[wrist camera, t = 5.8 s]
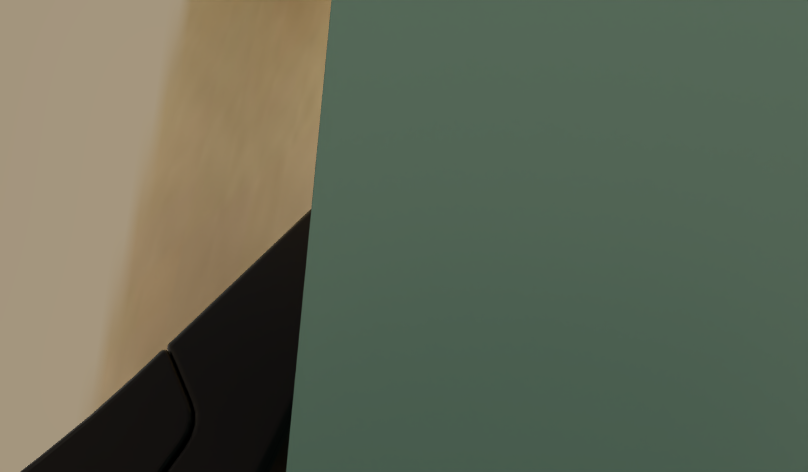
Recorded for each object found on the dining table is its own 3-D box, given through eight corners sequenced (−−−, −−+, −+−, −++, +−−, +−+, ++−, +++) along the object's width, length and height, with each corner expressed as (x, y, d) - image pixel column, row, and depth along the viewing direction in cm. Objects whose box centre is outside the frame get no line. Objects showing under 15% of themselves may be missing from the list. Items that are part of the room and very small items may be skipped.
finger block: (592, 394, 14) (1413, 900, 2) (392, 376, 15) (256, 778, 3) (604, 212, 15) (1403, -120, 3) (407, 196, 15) (348, -192, 3)
